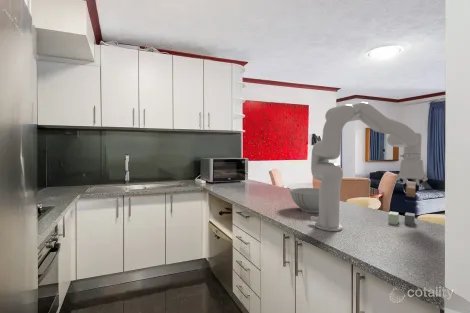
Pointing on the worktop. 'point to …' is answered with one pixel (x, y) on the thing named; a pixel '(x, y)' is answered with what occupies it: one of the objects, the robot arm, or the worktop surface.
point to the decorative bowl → (306, 199)
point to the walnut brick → (410, 189)
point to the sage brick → (393, 217)
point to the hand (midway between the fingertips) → (410, 191)
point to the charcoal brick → (409, 218)
